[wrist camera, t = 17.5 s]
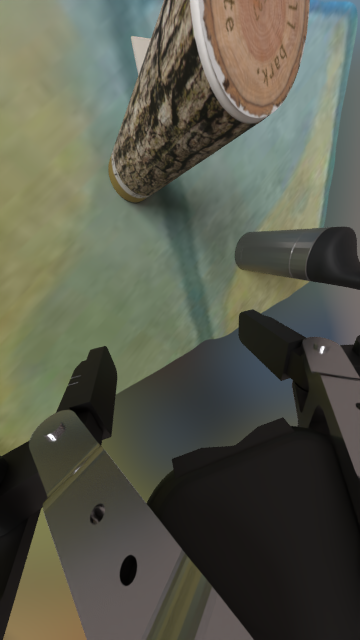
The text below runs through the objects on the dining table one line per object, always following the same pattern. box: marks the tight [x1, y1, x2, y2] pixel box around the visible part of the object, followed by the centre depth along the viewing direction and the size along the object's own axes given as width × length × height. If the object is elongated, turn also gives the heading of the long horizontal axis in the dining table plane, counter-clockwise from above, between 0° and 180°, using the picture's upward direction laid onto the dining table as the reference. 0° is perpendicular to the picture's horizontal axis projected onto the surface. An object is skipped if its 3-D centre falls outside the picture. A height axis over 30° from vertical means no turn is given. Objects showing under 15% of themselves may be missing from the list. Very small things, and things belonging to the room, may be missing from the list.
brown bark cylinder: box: [109, 0, 310, 202], centre depth 18 cm, size 7×7×25 cm
